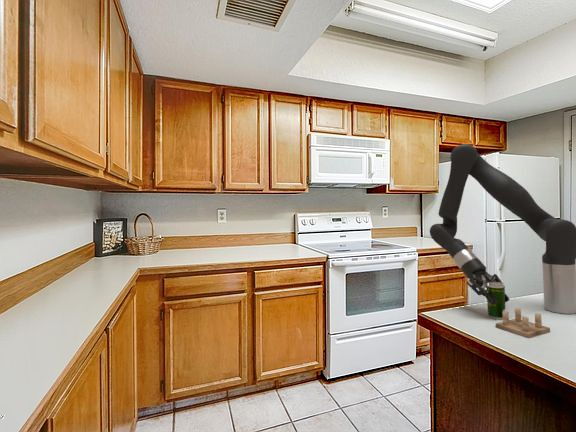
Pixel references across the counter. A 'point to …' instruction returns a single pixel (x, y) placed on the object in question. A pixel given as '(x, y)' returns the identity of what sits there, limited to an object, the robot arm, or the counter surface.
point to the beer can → (499, 294)
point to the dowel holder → (522, 325)
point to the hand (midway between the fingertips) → (501, 302)
